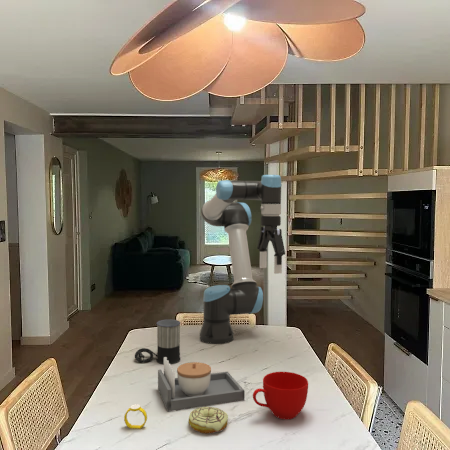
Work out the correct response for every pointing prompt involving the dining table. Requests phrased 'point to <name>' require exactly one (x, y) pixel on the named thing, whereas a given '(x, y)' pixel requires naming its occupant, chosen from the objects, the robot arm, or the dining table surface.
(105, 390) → the dining table surface
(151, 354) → the milk frother
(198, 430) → the decorated donut
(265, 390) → the ceramic cup
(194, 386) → the lidded jar
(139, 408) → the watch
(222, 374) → the dish rack
